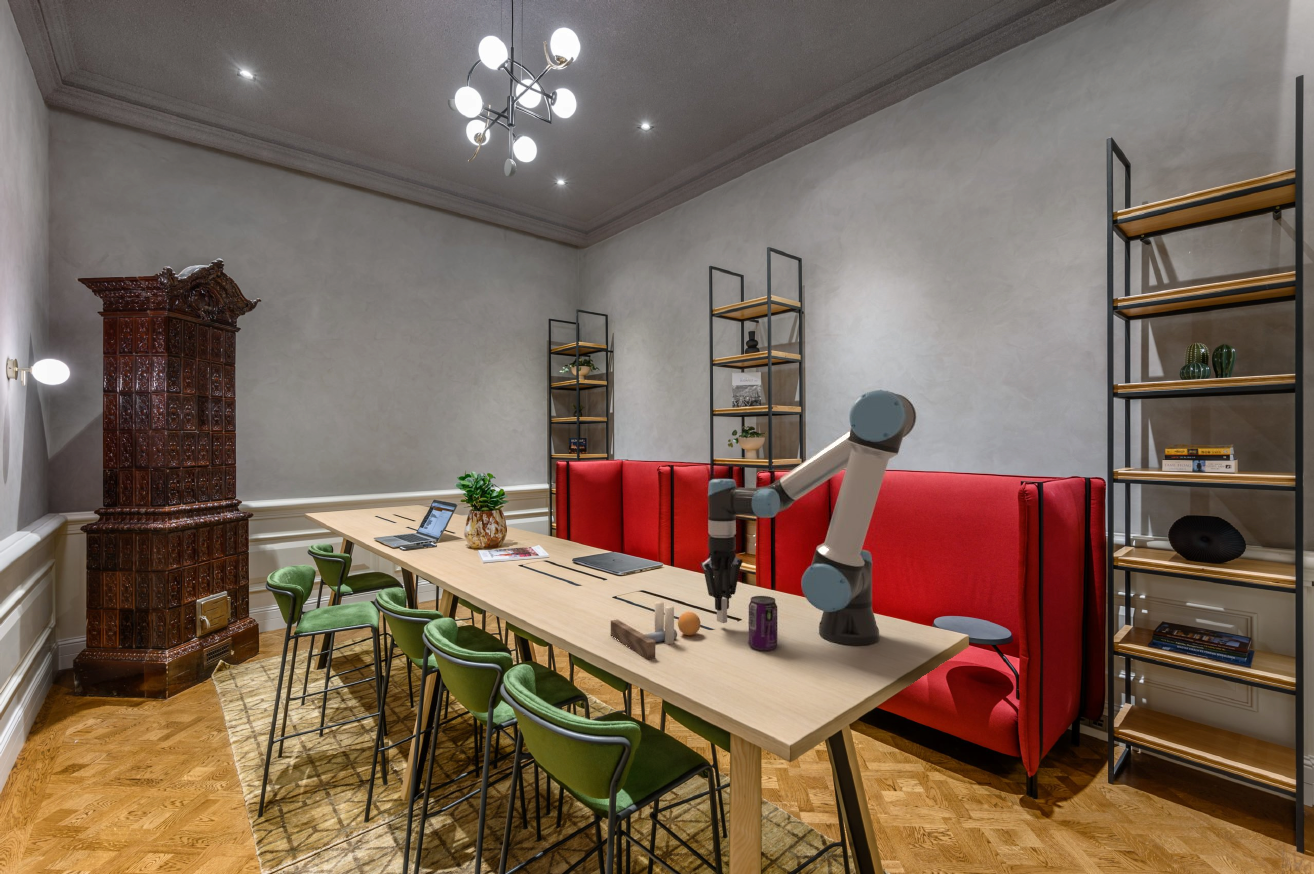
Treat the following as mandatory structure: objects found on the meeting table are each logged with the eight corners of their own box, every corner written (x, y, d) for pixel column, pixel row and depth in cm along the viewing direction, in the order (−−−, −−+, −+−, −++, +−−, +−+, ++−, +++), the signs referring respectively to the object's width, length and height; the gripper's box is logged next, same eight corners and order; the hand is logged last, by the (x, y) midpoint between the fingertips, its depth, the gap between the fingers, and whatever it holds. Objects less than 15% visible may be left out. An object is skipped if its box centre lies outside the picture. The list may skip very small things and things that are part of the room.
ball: (684, 635, 152) (700, 640, 155) (692, 612, 153) (708, 618, 156) (670, 628, 157) (686, 633, 160) (678, 606, 158) (693, 612, 161)
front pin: (677, 631, 153) (647, 636, 148) (676, 640, 153) (646, 645, 149) (672, 627, 155) (642, 633, 150) (672, 636, 155) (642, 642, 151)
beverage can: (777, 653, 143) (777, 603, 143) (747, 650, 144) (747, 601, 145) (777, 643, 150) (777, 595, 150) (749, 641, 151) (749, 594, 152)
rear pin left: (675, 643, 150) (675, 607, 150) (667, 644, 149) (667, 609, 149) (670, 640, 152) (670, 605, 152) (662, 642, 151) (662, 606, 151)
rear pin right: (665, 637, 154) (665, 603, 154) (657, 639, 153) (657, 604, 153) (660, 635, 156) (660, 600, 156) (653, 636, 155) (653, 602, 155)
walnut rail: (655, 658, 140) (655, 641, 140) (648, 659, 139) (648, 642, 139) (617, 634, 157) (617, 619, 157) (610, 635, 156) (610, 620, 156)
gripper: (732, 531, 169) (732, 614, 168) (694, 535, 162) (694, 621, 162) (749, 535, 162) (749, 621, 162) (710, 539, 156) (710, 629, 155)
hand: (722, 621), depth 162 cm, fingers closed
